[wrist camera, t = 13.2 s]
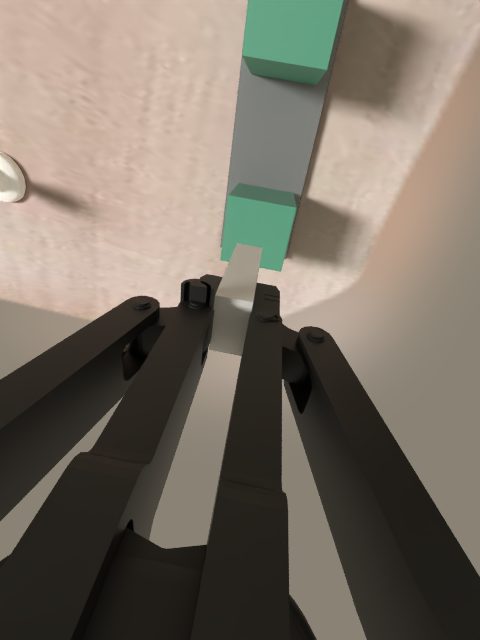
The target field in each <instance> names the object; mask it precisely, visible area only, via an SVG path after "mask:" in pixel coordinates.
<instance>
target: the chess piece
mask: <svg viewBox="0 0 480 640" xmlns="http://www.w3.org/2000/svg"><path fill="white" fill-rule="evenodd" d="M25 190H26V184H25V179H24V176H23V174H22V172H21V170H20V168H19V167H18V165H17V164H16V163H15V162H14V161H13V160H12V159H11V158H10V157H9V156H8V155H6V154H5V153H3V152H1V151H0V201H3V202H15V201H18V200H20V199H21V198H22V197H23V196H24V194H25Z"/></svg>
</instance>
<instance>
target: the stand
mask: <svg viewBox="0 0 480 640" xmlns="http://www.w3.org/2000/svg"><path fill="white" fill-rule="evenodd" d="M348 1H349V0H248V6H247V15H246V23H245V32H244V41H243V50H242V60H241V69H240V78H239V87H238V96H237V105H236V114H235V123H234V132H233V140H232V149H231V158H230V167H229V176H228V185H227V194H226V203H225V212H224V221H223V229H222V238H221V247H222V243H223V234H224V226H225V217H226V209H227V201H228V195H229V194H230V193H231V191H232V190H233V189H234V188H235V187H236V186H237V185H238V183H242V184H247V185H253V186H258V187H264V188H269V189H275V190H280V191H286V192H291V193H294V198H295V203H296V212H295V216H294V220H293V224H292V228H291V232H290V237H289V241H288V245H287V249H286V253H285V257H284V259H286V256H287V252H288V248H289V244H290V240H291V236H292V232H293V227H294V223H295V219H296V215H297V211H298V207H299V203H300V199H301V194H302V190H303V186H304V182H305V178H306V174H307V170H308V166H309V161H310V157H311V153H312V149H313V145H314V141H315V137H316V133H317V128H318V124H319V120H320V116H321V112H322V108H323V104H324V100H325V95H326V91H327V87H328V83H329V79H330V75H331V71H332V67H333V62H334V58H335V54H336V50H337V46H338V42H339V38H340V34H341V29H342V25H343V21H344V17H345V13H346V9H347V5H348Z"/></svg>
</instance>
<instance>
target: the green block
mask: <svg viewBox="0 0 480 640" xmlns="http://www.w3.org/2000/svg"><path fill="white" fill-rule="evenodd" d="M295 212H296V203H295V198H294V193H291V192H286V191H280V190H275V189H269V188H264V187H258V186H253V185H247V184H242V183H238V185H237V186H236V187H235V188H234V189H233V190H232V191H231V193H230V194H229V195H228V201H227V209H226V217H225V226H224V234H223V243H222V251H221V260H222V261H227V262H229V261H230V258H231V256H232V254H233V251H234V249H235V246H236V244H237V243H240V244H245V245H251V246H256V247H262V254H261V260H260V266H259V268H265V269H270V270H275V271H281V270H282V265H283V261H284V257H285V253H286V249H287V245H288V241H289V237H290V232H291V228H292V224H293V220H294V216H295Z"/></svg>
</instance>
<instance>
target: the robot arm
mask: <svg viewBox="0 0 480 640" xmlns="http://www.w3.org/2000/svg"><path fill="white" fill-rule="evenodd" d="M261 254H262V247H256V246H251V245H245V244H240V243H237V244H236V246H235V249H234V251H233V254H232V256H231V258H230V261H229V263H228V266H227V268H226V270H225V273H224V275H223V277H219V276H214V275H208V274H206V275H204V276H203V277H201V278H200V279H188V280H185V281H183V282H182V283H181V302H180V303H179V305H178V307H171V308H160V305H159V302H158V301H157V300H156V299H154V298H152V297H148V296H137V297H132V298H130V299H128V300H126V301H125V302H123V303H121V304H120V305H118V306H117V307H115V308H113V309H112V310H110V311H109V312H107V313H105V314H104V315H102V316H101V317H99V318H98V319H96V320H94V321H93V322H91V323H90V324H88V325H87V326H85V327H83V328H82V329H80V330H79V331H77V332H76V333H74V334H72V335H71V336H69V337H67V338H66V339H64V340H63V341H61V342H60V343H58V344H56V345H55V346H53V347H52V348H50V349H48V350H47V351H45V352H44V353H42V354H41V355H39V356H37V357H36V358H34V359H33V360H31V361H30V362H28V363H26V364H25V365H23V366H21V367H20V368H18V369H17V370H15V371H14V372H12V373H10V374H9V375H7V376H6V377H4V378H2V379H1V380H0V521H1V520H2V519H3V518H4V517H5V516H6V515H7V514H8V513H9V512H10V511H11V510H12V509H13V508H14V507H15V506H16V505H17V504H18V503H19V502H20V501H21V500H22V499H23V497H25V496H26V495H27V493H29V492H30V490H32V489H33V488H34V487H35V486H36V485H37V484H38V482H39V481H40V480H41V479H42V478H43V477H44V476H45V475H46V474H47V473H48V472H49V471H50V470H51V469H52V468H53V467H54V466H55V465H56V464H57V463H58V462H59V461H60V460H61V459H62V458H63V457H64V456H65V455H66V454H67V453H68V452H69V451H70V450H71V449H72V448H73V447H74V446H75V445H76V444H77V443H78V442H79V441H80V440H81V439H82V438H83V437H84V436H85V435H86V434H87V432H89V431H90V429H92V427H93V426H94V425H95V424H96V423H97V422H98V421H99V420H100V419H101V418H102V417H103V416H104V415H105V414H106V413H107V412H108V411H109V410H110V409H111V408H112V407H113V406H114V405H115V404H116V403H117V402H118V401H119V400H120V399H121V398H122V397H123V396H124V397H123V398H122V400H121V402H120V403H119V405H118V407H117V408H116V410H115V412H114V413H113V415H112V417H111V418H110V420H109V422H108V423H107V425H106V427H105V428H104V430H103V432H102V433H101V435H100V437H99V438H98V440H97V442H96V443H95V445H94V446H93V448H92V449H91V450H90V451H89V452H82V453H81V452H80V453H79V454H78V455H77V456H75V457H74V459H73V460H72V461H71V462H70V464H69V465H68V466H67V468H66V469H65V471H64V472H63V474H62V475H61V477H60V479H59V480H58V482H57V483H56V485H55V486H54V488H53V489H52V491H51V493H50V494H49V496H48V497H47V499H46V500H45V502H44V503H43V505H42V507H41V508H40V510H39V511H38V513H37V514H36V516H35V517H34V519H33V520H32V522H31V524H30V525H29V527H28V528H27V530H26V531H25V533H24V534H23V536H22V538H21V539H20V541H19V543H18V544H17V546H16V547H15V548H14V550H13V552H12V553H11V554H10V555H9V556H7V557H6V558H4V559H3V560H1V561H0V640H317V639H316V637H315V635H314V633H313V632H312V630H311V628H310V626H309V624H308V622H307V620H306V618H305V616H304V615H303V613H302V611H301V610H300V608H299V607H298V605H297V604H296V602H295V601H294V600H293V598H292V597H291V596H290V595H289V559H288V558H289V557H288V556H289V554H288V504H287V497H286V494H285V493H284V492H283V491H282V483H281V476H282V473H281V472H282V470H281V469H282V463H281V462H282V459H281V458H282V451H281V450H282V379H284V387H285V390H286V393H287V396H288V399H289V402H290V405H291V408H292V411H293V415H294V418H295V421H296V424H297V427H298V430H299V433H300V436H301V440H302V443H303V446H304V449H305V452H306V455H307V458H308V461H309V465H310V468H311V471H312V474H313V477H314V480H315V483H316V486H317V489H318V492H319V496H320V499H321V502H322V505H323V508H324V511H325V514H326V517H327V521H328V523H329V527H330V530H331V533H332V536H333V539H334V542H335V545H336V549H337V552H338V555H339V558H340V561H341V564H342V567H343V570H344V573H345V577H346V580H347V583H348V586H349V589H350V592H351V595H352V598H353V601H354V605H355V607H356V611H357V613H358V616H359V619H360V621H361V624H362V627H363V630H364V633H365V635H366V638H367V640H480V577H479V575H478V573H477V572H476V570H475V569H474V567H473V565H472V564H471V562H470V560H469V559H468V557H467V556H466V554H465V552H464V551H463V549H462V547H461V546H460V544H459V542H458V541H457V539H456V538H455V536H454V535H453V533H452V531H451V529H450V528H449V526H448V525H447V523H446V521H445V520H444V518H443V516H442V515H441V513H440V512H439V510H438V508H437V507H436V505H435V503H434V502H433V500H432V499H431V497H430V495H429V494H428V492H427V490H426V489H425V487H424V486H423V484H422V482H421V481H420V479H419V477H418V476H417V474H416V473H415V471H414V469H413V468H412V466H411V464H410V463H409V461H408V460H407V458H406V456H405V455H404V453H403V451H402V450H401V448H400V446H399V445H398V443H397V442H396V440H395V439H394V437H393V435H392V434H391V432H390V430H389V429H388V427H387V425H386V424H385V422H384V420H383V419H382V417H381V416H380V414H379V412H378V411H377V409H376V407H375V406H374V404H373V403H372V401H371V399H370V398H369V396H368V394H367V393H366V391H365V390H364V388H363V386H362V385H361V383H360V382H359V380H358V378H357V377H356V375H355V373H354V372H353V370H352V368H351V367H350V365H349V364H348V362H347V360H346V359H345V357H344V356H343V354H342V352H341V351H340V349H339V347H338V346H337V344H336V342H335V341H334V339H333V338H332V336H331V335H330V334H329V333H327V332H326V331H324V330H323V329H321V328H318V327H312V326H309V327H304V328H301V329H300V331H299V332H296V331H294V330H291V329H289V328H287V327H286V326H284V325H283V324H282V318H281V316H280V291H279V290H278V289H277V287H276V286H272V285H266V284H261V283H257V277H258V272H259V266H260V260H261ZM209 344H210V346H209ZM208 347H209V349H210V350H214V351H219V352H224V353H230V354H235V355H240V356H242V358H241V363H240V368H239V374H238V379H237V385H236V390H235V395H234V401H233V406H232V411H231V417H230V422H229V428H228V433H227V439H226V444H225V449H224V455H223V460H222V465H221V471H220V476H219V481H218V487H217V493H216V498H215V503H214V508H213V514H212V519H211V524H210V530H209V535H208V541H207V545H200V546H190V547H181V548H172V549H164V548H161V547H159V546H157V545H155V544H154V543H152V542H151V541H149V537H150V532H151V527H152V523H153V519H154V515H155V512H156V509H157V506H158V503H159V500H160V497H161V494H162V491H163V488H164V485H165V482H166V479H167V476H168V473H169V470H170V467H171V464H172V461H173V458H174V455H175V452H176V449H177V446H178V443H179V440H180V437H181V434H182V430H183V428H184V425H185V422H186V419H187V416H188V413H189V410H190V407H191V404H192V401H193V398H194V395H195V392H196V389H197V386H198V383H199V380H200V377H201V374H202V371H203V368H204V365H205V362H206V359H207V353H208Z"/></svg>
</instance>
